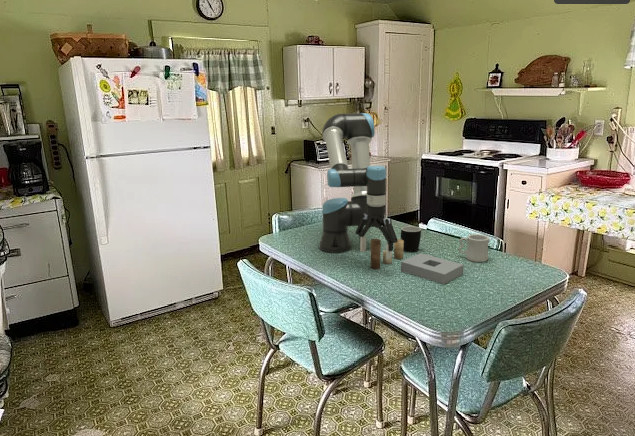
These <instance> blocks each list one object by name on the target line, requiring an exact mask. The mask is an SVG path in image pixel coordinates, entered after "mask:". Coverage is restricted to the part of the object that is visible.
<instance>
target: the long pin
mask: <svg viewBox="0 0 635 436" xmlns="http://www.w3.org/2000/svg"><path fill="white" fill-rule="evenodd" d="M381 243H382V242H381V239H380V238H371V239H370V269H373V270H379V269H381V245H382V244H381Z"/></svg>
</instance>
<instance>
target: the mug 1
mask: <svg viewBox="0 0 635 436" xmlns="http://www.w3.org/2000/svg"><path fill="white" fill-rule="evenodd" d="M421 237H422V228H420V226H419V227H418V226H413V225H412V226H411V225H408V226H407V225H406V226H403V227H401V228H400V239H401V240H404V247H403V252H404V251H405V252H409V253H414V252H415V253H416V252H417V251H418V250H419V248H420V245H421Z"/></svg>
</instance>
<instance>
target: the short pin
mask: <svg viewBox="0 0 635 436" xmlns="http://www.w3.org/2000/svg"><path fill="white" fill-rule="evenodd" d="M382 264H383V265H391V264H393V257H392V258H390V259H386V249H385V250H382Z"/></svg>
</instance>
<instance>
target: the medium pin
mask: <svg viewBox="0 0 635 436" xmlns="http://www.w3.org/2000/svg"><path fill="white" fill-rule="evenodd" d="M397 240H398V242H395V243H393V252H394V253H393V259H395V260H403V259H404V250H403V247H404V240H401V238H397Z"/></svg>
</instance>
